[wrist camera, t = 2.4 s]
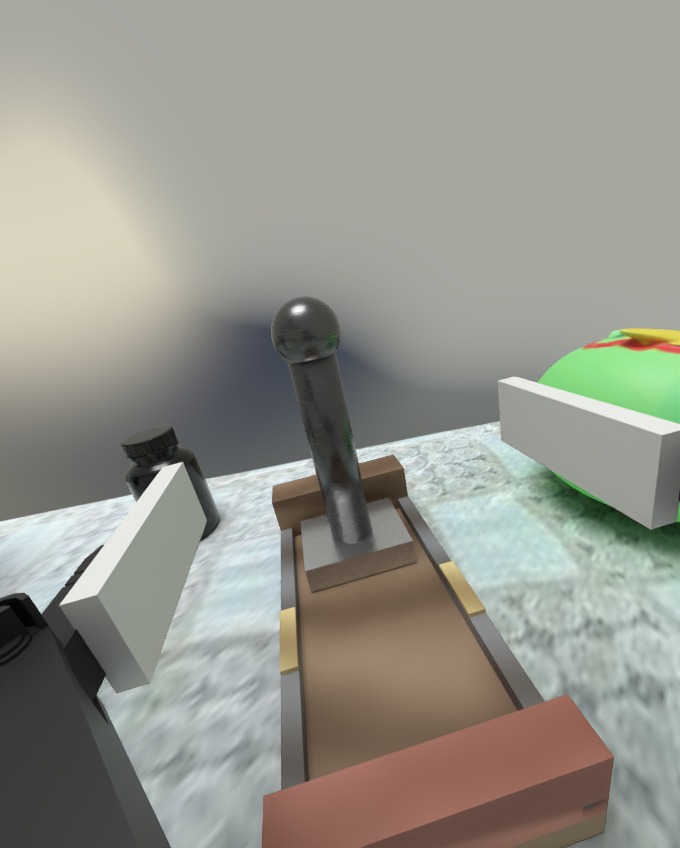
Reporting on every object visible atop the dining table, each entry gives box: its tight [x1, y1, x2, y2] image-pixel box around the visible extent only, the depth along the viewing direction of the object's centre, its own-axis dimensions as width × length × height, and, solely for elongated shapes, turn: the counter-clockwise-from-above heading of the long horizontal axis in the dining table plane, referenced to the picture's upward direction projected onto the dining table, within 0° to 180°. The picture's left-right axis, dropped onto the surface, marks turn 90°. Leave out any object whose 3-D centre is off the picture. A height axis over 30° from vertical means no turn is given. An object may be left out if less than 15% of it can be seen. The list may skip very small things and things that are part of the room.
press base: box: [262, 455, 614, 848], centre depth 23 cm, size 24×12×6 cm, turn 9°
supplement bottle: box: [121, 425, 219, 540], centre depth 37 cm, size 7×7×12 cm
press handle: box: [271, 297, 416, 592], centre depth 25 cm, size 6×8×20 cm
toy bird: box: [538, 328, 680, 522], centre depth 27 cm, size 18×17×15 cm
